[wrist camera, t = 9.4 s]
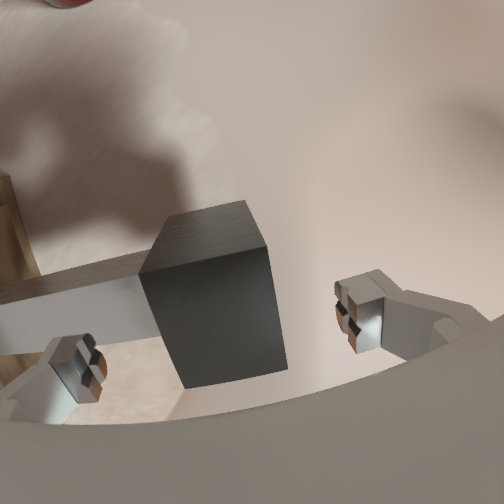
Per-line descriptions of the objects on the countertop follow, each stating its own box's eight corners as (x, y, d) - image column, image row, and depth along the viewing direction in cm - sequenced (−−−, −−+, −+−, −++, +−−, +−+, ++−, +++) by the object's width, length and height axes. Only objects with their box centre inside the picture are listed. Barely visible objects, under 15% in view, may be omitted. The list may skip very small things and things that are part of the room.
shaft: (-29, 274, 15) (-86, 323, 8) (244, 199, 16) (266, 245, 9) (-1, 333, 17) (-45, 392, 10) (261, 286, 18) (288, 369, 11)
